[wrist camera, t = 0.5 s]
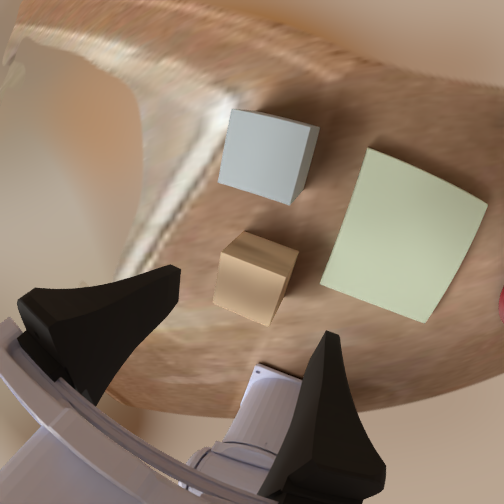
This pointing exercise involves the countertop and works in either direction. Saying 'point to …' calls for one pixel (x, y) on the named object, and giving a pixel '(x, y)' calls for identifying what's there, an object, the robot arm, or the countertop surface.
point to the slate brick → (267, 154)
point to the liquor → (501, 305)
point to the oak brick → (254, 277)
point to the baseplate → (402, 237)
